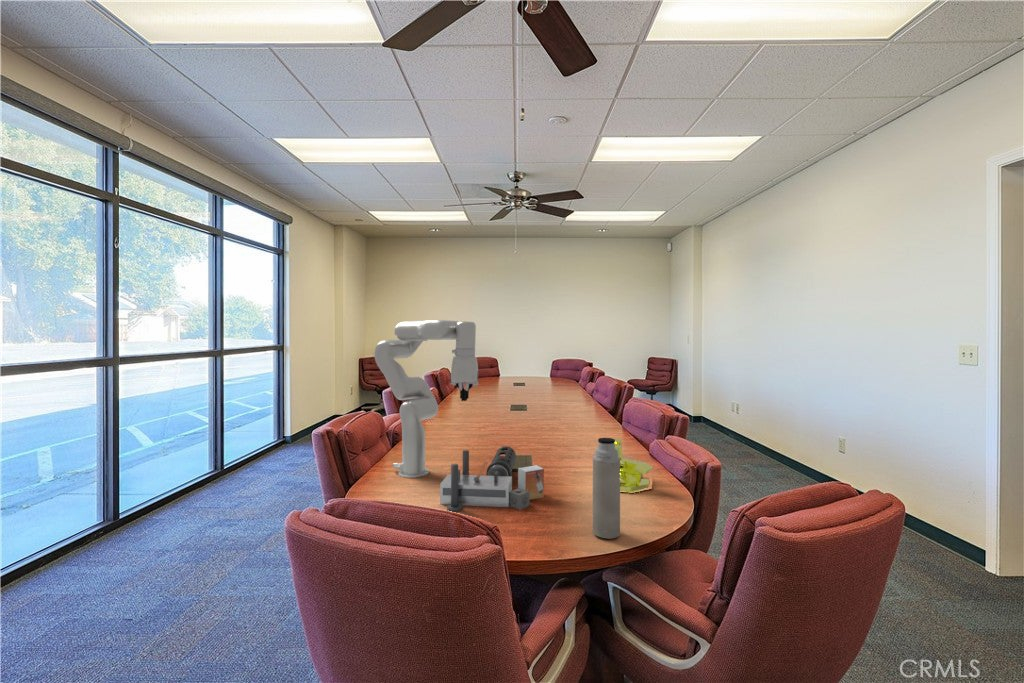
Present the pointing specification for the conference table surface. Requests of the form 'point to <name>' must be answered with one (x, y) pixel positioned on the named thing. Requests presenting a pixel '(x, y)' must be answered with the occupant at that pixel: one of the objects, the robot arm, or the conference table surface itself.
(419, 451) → the robot arm
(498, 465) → the muzzle brake
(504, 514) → the conference table surface
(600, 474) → the thermos bottle
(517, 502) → the dice cube
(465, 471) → the post far
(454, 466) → the post near
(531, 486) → the small box
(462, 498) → the breaker panel
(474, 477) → the paddle
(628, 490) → the yellow-green lump
